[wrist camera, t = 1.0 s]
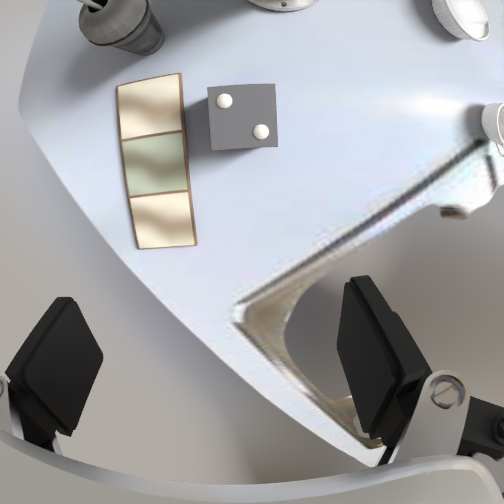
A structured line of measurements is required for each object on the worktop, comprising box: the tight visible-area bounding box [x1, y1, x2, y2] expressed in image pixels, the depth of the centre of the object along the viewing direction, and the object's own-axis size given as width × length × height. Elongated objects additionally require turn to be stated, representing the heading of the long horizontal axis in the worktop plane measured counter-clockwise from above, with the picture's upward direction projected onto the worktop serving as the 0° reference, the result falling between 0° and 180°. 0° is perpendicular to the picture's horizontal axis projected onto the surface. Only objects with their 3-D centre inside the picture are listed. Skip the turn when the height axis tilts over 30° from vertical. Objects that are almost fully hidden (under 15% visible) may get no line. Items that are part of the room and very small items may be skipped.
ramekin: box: [432, 0, 490, 41], centre depth 21 cm, size 11×11×5 cm
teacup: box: [481, 103, 504, 157], centre depth 30 cm, size 10×8×5 cm
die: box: [207, 84, 278, 151], centre depth 30 cm, size 7×7×7 cm
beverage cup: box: [78, 0, 164, 55], centre depth 18 cm, size 7×7×20 cm
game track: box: [117, 73, 197, 249], centre depth 35 cm, size 24×9×1 cm, turn 3°
